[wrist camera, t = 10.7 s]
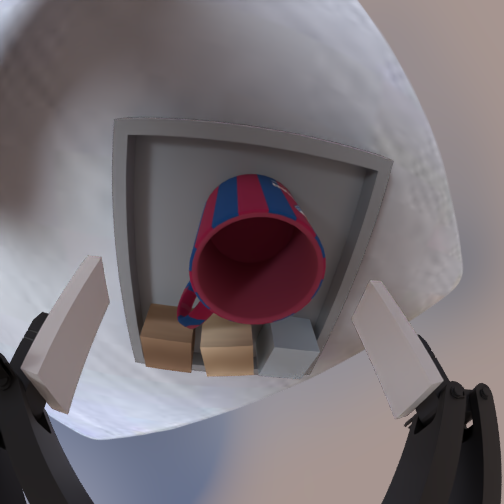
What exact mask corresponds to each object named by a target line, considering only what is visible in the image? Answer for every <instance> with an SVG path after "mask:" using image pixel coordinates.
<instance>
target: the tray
mask: <svg viewBox="0 0 504 504" xmlns="http://www.w3.org/2000/svg"><path fill="white" fill-rule="evenodd" d="M392 165H393V160H390V159H388V158H385V157H383V156H381V155H378V154H375V153H371V152H368V151H365V150H361V149H358V148H354V147H351V146H347V145H343V144H339V143H335V142H331V141H327V140H323V139H319V138H314V137H310V136H305V135H301V134H296V133H291V132H285V131H280V130H274V129H268V128H262V127H256V126H249V125H242V124H234V123H225V122H216V121H205V120H193V119H176V118H120V119H114V132H113V154H112V196H113V219H114V234H115V245H116V255H117V264H118V272H119V280H120V287H121V293H122V300H123V305H124V311H125V316H126V322H127V327H128V332H129V336H130V341H131V345H132V349H133V354H134V358H135V362H138V363H144V364H145V359H144V355H143V350H142V344H141V339H140V335H141V331H142V328H143V325H144V322H145V319H146V316H147V313H148V310H149V307H150V305H151V303H154V304H162V305H170V306H178V303H179V300H180V298H181V295H182V293H183V291H184V289H185V287H186V286H187V284H188V282H189V281H190V276H189V262H190V257H191V253H192V249H193V246H194V242H195V238H196V235H197V231H198V227H199V224H200V220H201V217H202V213H203V210H204V207H205V204H206V201H207V200H208V198H209V196H210V194H211V193H212V192H213V191H214V190H215V188H217V187H218V186H219V185H220V184H221V183H223V182H225V181H226V180H228V179H230V178H233V177H235V176H238V175H244V174H259V175H264V176H267V177H270V178H273V179H274V180H276V181H278V182H280V183H281V184H282V185H283V186H284V187H286V188H287V190H288V191H289V192H290V193H291V195H292V196H293V198H294V199H295V201H296V202H297V204H298V205H299V207H300V209H301V210H302V212H303V213H304V215H305V216H306V218H307V220H308V221H309V223H310V224H311V226H312V228H313V229H314V231H315V233H316V234H317V236H318V237H319V239H320V241H321V244H322V246H323V248H324V252H325V257H326V270H325V275H324V279H323V282H322V284H321V287H320V288H319V290H318V292H317V293H316V295H315V296H314V297H313V299H312V300H311V301H310V302H309V303H308V304H307V305H306V306H305V307H303V308H302V309H301V310H300V311H298V312H296V313H295V314H293V315H291V316H292V317H298V318H304V319H310V322H311V325H312V328H313V331H314V334H315V337H316V340H317V344H318V347H319V350H320V353H319V354H318V356H317V357H316V358H315V360H314V361H313V363H312V364H311V365H310V367H309V368H308V369H307V371H306V372H305V374H304V375H310V373H311V371H312V369H313V368H314V366H315V364H316V362H317V360H318V358H319V356H320V354H321V352H322V350H323V348H324V346H325V344H326V342H327V340H328V338H329V336H330V334H331V332H332V330H333V327H334V325H335V323H336V321H337V319H338V317H339V314H340V312H341V310H342V308H343V305H344V303H345V301H346V298H347V296H348V294H349V291H350V289H351V287H352V284H353V282H354V279H355V277H356V274H357V272H358V269H359V267H360V264H361V261H362V259H363V256H364V254H365V251H366V248H367V245H368V243H369V240H370V237H371V234H372V231H373V228H374V225H375V222H376V219H377V216H378V213H379V210H380V207H381V204H382V200H383V197H384V194H385V190H386V187H387V183H388V180H389V176H390V172H391V169H392ZM199 301H200V300H199V299H198V297H196V299H195V301H194V304H193V306H192V308H195V307H196V305H197V304H198V303H199ZM263 325H264V324H255V325H251V328H252V340H253V366H254V375H258V366H257V355H256V345H255V342H256V340H257V337H258V335H259V333H260V331H261V329H262V327H263ZM201 333H202V324H201V325H200V326H198V327H196V328H195V344H194V353H193V362H192V370H194V371H204V372H206V370H205V366H204V362H203V358H202V354H201V349H200V343H201Z"/></svg>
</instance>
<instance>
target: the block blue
mask: <svg viewBox="0 0 504 504" xmlns="http://www.w3.org/2000/svg"><path fill="white" fill-rule="evenodd" d="M255 345H256V355H257V366H258V376H268V377H279V378H292V379H301V378H302V376H303V375H304V374H305V372H306V371H307V369H308V368H309V367H310V365H311V364H312V363H313V361H314V360H315V358H316V357H317V356H318V354H319V353H320V350H319V347H318V344H317V340H316V337H315V334H314V331H313V328H312V325H311V322H310V319H304V318H298V317H292V316H289V317H287V318H285V319H283V320H279V321H276V322H273V323H267V324H264V325H263V327H262V329H261V331H260V333H259V335H258V337H257V340H256V342H255Z"/></svg>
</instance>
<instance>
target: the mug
mask: <svg viewBox="0 0 504 504" xmlns="http://www.w3.org/2000/svg"><path fill="white" fill-rule="evenodd" d="M325 270H326V257H325V252H324V248H323V246H322V244H321V241H320V239H319V237H318V236H317V234H316V233H315V231H314V229H313V228H312V226H311V224H310V223H309V221H308V220H307V218H306V216H305V215H304V213H303V212H302V210H301V209H300V207H299V205H298V204H297V202H296V201H295V199H294V198H293V196H292V195H291V193H290V192H289V191H288V190H287V188H286V187H284V186H283V185H282V184H281V183H280V182H278V181H276V180H274V179H273V178H270V177H267V176H264V175H259V174H244V175H238V176H235V177H233V178H230V179H228V180H226V181H225V182H223V183H221V184H220V185H219V186H218V187H217V188H215V190H214V191H213V192H212V193H211V194H210V196H209V198H208V200H207V201H206V204H205V207H204V210H203V213H202V217H201V220H200V224H199V227H198V231H197V235H196V238H195V242H194V246H193V249H192V253H191V257H190V262H189V276H190V281H189V282H188V284H187V286H186V287H185V289H184V291H183V293H182V295H181V298H180V300H179V303H178V307H177V320H178V322H179V323H180V324H181V325H183V326H184V327H187V328H189V329H194V328H196V327H198V326H200V325H201V324H203V323H204V322H205V321H206V320H207V319H208V318H209V317H210V316H211V315H212V314H213V313H215V314H216V315H218V316H220V317H221V318H224V319H227V320H229V321H232V322H236V323H241V324H250V325H255V324H267V323H273V322H276V321H279V320H283V319H285V318H287V317H289V316H291V315H293V314H295V313H296V312H298V311H300V310H301V309H302V308H303V307H305V306H306V305H307V304H308V303H309V302H310V301H311V300H312V299H313V297H314V296H315V295H316V293H317V292H318V290H319V288H320V287H321V284H322V282H323V279H324V275H325ZM196 297H198V299H199V300H200V301H199V303H198V304H197V305H196V307H195V308H194V309H193V310H192V306H193V304H194V301H195V299H196ZM191 310H192V311H191Z"/></svg>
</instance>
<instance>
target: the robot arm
mask: <svg viewBox="0 0 504 504" xmlns="http://www.w3.org/2000/svg"><path fill="white" fill-rule="evenodd" d="M109 303H110V301H109V296H108V291H107V286H106V281H105V275H104V269H103V263H102V257H98V256H89V255H88V256H87V257H86V258H85V260H84V261H83V263H82V264H81V265H80V267H79V268H78V270H77V271H76V273H75V274H74V275H73V277H72V278H71V280H70V281H69V283H68V284H67V286H66V287H65V289H64V290H63V292H62V294H61V295H60V297H59V298H58V300H57V301H56V303H55V305H54V306H53V308H52V310H51V311H50V313H49V314H48V313H44V312H42V313H41V314H39V315H38V316H37V317H36V318H35V319H34V320H33V321H32V323H31V325H30V327H29V328H28V331H27V332H26V334H25V335H24V338H23V339H22V341H21V343H20V344H19V346H18V348H17V350H16V352H15V354H14V356H13V358H12V360H11V362H10V364H9V363H8V361H7V360H6V358H5V357H4V356H3V355H2V354H1V353H0V504H26V501H25V497H24V494H23V491H24V493H25V495H26V497H27V499H28V501H29V503H30V504H94V503H93V501H92V500H91V498H90V497H89V495H88V494H87V492H86V490H85V489H84V487H83V486H82V484H81V483H80V481H79V479H78V477H77V476H76V474H75V472H74V470H73V468H72V467H71V465H70V463H69V461H68V459H67V457H66V455H65V453H64V451H63V449H62V447H61V445H60V443H59V441H58V438H57V436H56V434H55V432H54V429H53V427H52V424H51V422H50V420H49V417H48V414H47V412H46V410H45V409H44V407H45V404H46V402H47V403H48V405H49V406H50V407H51V408H52V409H54V410H57V411H59V412H62V413H65V414H68V413H69V409H70V406H71V403H72V399H73V396H74V393H75V390H76V387H77V384H78V381H79V378H80V375H81V372H82V369H83V367H84V364H85V361H86V358H87V356H88V353H89V350H90V348H91V345H92V343H93V340H94V338H95V335H96V333H97V330H98V328H99V326H100V323H101V321H102V319H103V316H104V314H105V312H106V310H107V307H108V305H109ZM351 320H352V322H353V324H354V326H355V328H356V330H357V333H358V335H359V337H360V339H361V341H362V343H363V345H364V348H365V350H366V352H367V354H368V356H369V359H370V361H371V363H372V365H373V368H374V370H375V372H376V375H377V377H378V379H379V382H380V384H381V386H382V388H383V391H384V393H385V396H386V398H387V401H388V403H389V406H390V408H391V410H392V413H393V416H394V418H395V419H398V418H402V417H405V416H408V415H409V414H410V413H411V412H412V411H413V410H414V409H416V412H417V413H416V414H415V415H414V416H413V417H412V418H411V419H410V420H408V421H407V422H406V423H405V425H404V426H405V427H406V426H407V425H409V424H410V423H411V422H412V424H411V425H410V426H409V429H410V431H409V434H408V438H407V441H406V444H405V447H404V450H403V453H402V456H401V459H400V461H399V464H398V467H397V469H396V472H395V474H394V477H393V479H392V482H391V484H390V486H389V489H388V491H387V493H386V495H385V497H384V500H383V502H382V504H500V503H501V478H502V477H501V451H500V441H499V431H498V423H497V417H496V411H495V405H494V400H493V396H492V393H491V390H490V389H489V387H488V386H487V385H486V384H483V383H479V384H478V385H477V386H476V387H475V388H474V389H473V390H466V389H464V388H463V387H462V385H461V384H459V383H458V382H455V381H451V382H450V381H449V379H448V378H447V376H446V374H445V372H444V371H443V369H442V367H441V365H440V364H439V362H438V360H437V358H435V355H434V353H433V352H432V351H431V348H430V347H429V345H428V344H427V342H426V341H425V340H424V339H423V338H422V337H421V336H420V335H417V334H416V332H415V331H414V329H413V328H412V326H411V325H410V323H409V321H408V320H407V318H406V317H405V315H404V314H403V312H402V311H401V309H400V308H399V306H398V305H397V303H396V302H395V300H394V299H393V297H392V296H391V294H390V293H389V291H388V290H387V289H386V287H385V286H384V284H383V283H382V281H375V280H370V281H369V283H368V285H367V287H366V289H365V292H364V294H363V296H362V298H361V300H360V302H359V304H358V306H357V308H356V310H355V312H354V314H353V316H352V318H351ZM472 419H473V425H472V426H471V427H469V428H467V427H466V424H467V423H468V422H469V421H471V420H472ZM22 489H23V490H22Z"/></svg>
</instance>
